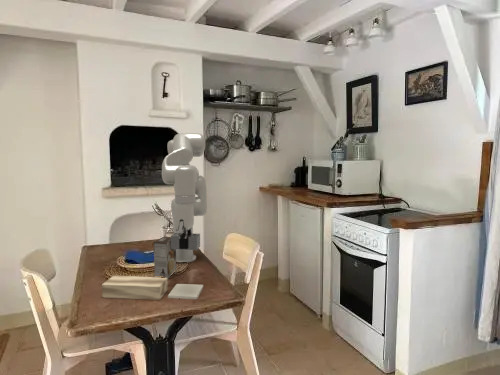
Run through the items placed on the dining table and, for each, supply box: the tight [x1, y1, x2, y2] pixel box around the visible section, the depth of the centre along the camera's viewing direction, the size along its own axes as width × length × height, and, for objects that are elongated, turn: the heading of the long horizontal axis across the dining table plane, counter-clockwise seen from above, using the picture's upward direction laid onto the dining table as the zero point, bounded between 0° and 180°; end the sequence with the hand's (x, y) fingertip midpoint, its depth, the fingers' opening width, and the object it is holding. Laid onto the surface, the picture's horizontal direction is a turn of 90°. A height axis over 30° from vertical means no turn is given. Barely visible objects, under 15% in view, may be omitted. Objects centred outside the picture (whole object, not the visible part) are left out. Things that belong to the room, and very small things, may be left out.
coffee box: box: [153, 236, 177, 280], centre depth 148 cm, size 9×6×16 cm
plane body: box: [101, 275, 169, 301], centre depth 129 cm, size 9×22×5 cm, turn 85°
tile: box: [167, 283, 204, 300], centre depth 131 cm, size 11×11×1 cm
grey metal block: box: [170, 232, 201, 251], centre depth 129 cm, size 5×10×5 cm, turn 85°
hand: (185, 246), depth 129 cm, fingers closed on grey metal block, 5 cm apart
